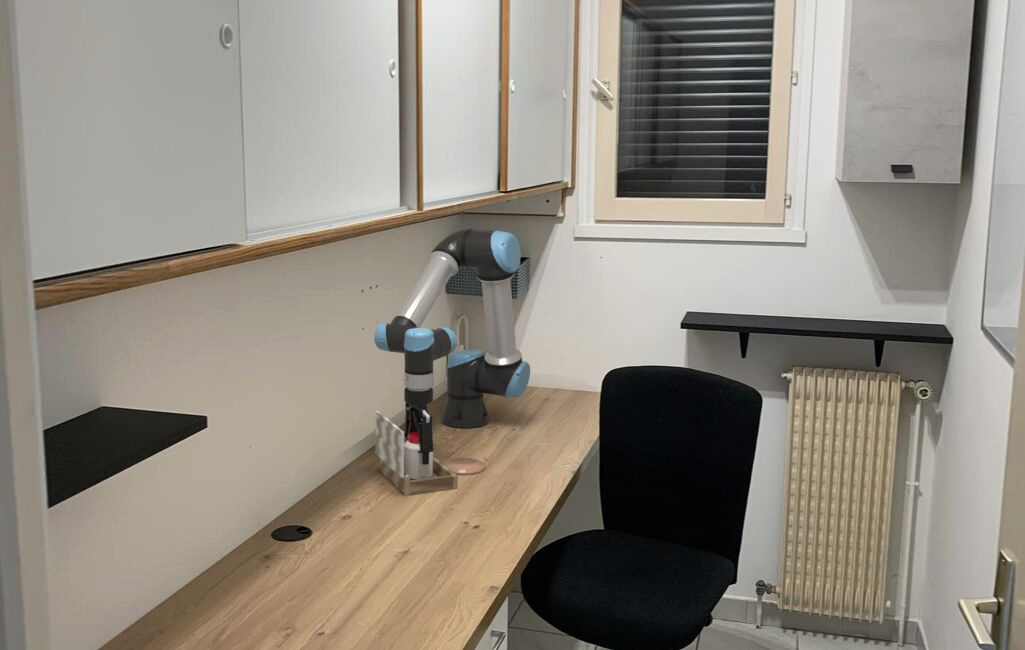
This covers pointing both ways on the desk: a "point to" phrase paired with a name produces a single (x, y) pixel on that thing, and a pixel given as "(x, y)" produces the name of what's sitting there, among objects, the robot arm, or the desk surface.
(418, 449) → the pill bottle
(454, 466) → the saucer
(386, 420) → the frame
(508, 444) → the desk surface
